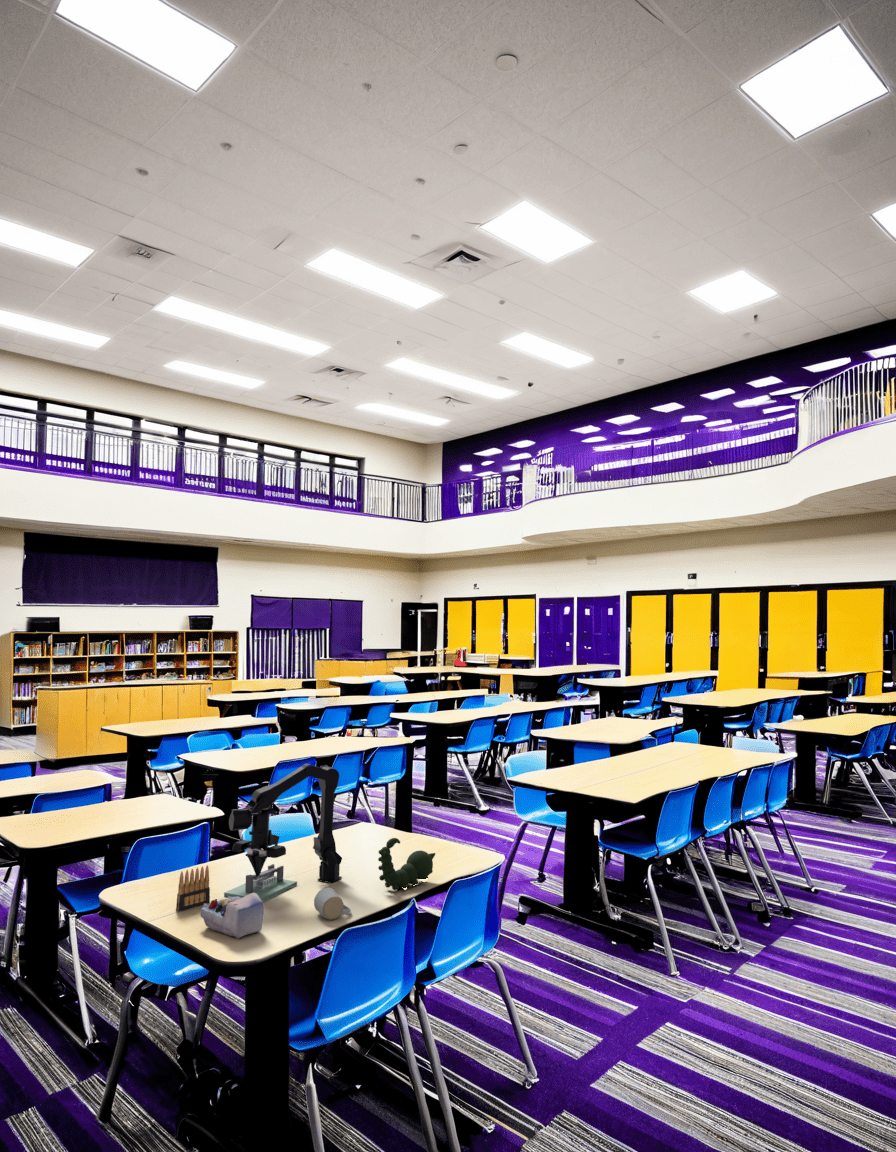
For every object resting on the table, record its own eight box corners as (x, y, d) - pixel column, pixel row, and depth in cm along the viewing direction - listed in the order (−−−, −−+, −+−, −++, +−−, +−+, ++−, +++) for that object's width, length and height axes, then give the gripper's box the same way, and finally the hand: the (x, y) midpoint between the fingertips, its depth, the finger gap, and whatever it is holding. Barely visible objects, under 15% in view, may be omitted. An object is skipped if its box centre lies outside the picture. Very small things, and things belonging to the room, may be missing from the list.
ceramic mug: (322, 923, 215) (323, 896, 216) (313, 914, 222) (314, 889, 223) (354, 917, 221) (355, 891, 222) (344, 909, 228) (345, 884, 229)
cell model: (237, 904, 201) (196, 891, 213) (236, 944, 199) (195, 929, 211) (274, 892, 211) (232, 880, 223) (273, 930, 210) (232, 916, 222)
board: (296, 885, 250) (297, 881, 251) (259, 902, 232) (260, 899, 232) (262, 879, 257) (262, 875, 257) (224, 896, 239) (224, 892, 239)
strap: (273, 870, 253) (273, 867, 253) (279, 871, 252) (279, 868, 252) (249, 878, 242) (250, 875, 242) (256, 879, 240) (256, 877, 240)
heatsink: (277, 884, 247) (277, 875, 247) (262, 891, 240) (262, 882, 240) (260, 882, 250) (261, 873, 250) (245, 888, 242) (245, 879, 243)
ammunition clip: (206, 902, 233) (208, 864, 234) (209, 903, 232) (211, 865, 233) (175, 910, 225) (177, 871, 226) (178, 912, 224) (180, 872, 225)
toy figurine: (392, 902, 239) (445, 879, 256) (389, 845, 240) (442, 826, 257) (374, 895, 245) (427, 873, 263) (371, 839, 246) (424, 821, 264)
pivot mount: (283, 880, 252) (283, 865, 252) (278, 882, 249) (278, 867, 250) (272, 878, 254) (272, 864, 254) (267, 880, 251) (267, 866, 252)
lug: (255, 891, 240) (255, 874, 240) (250, 893, 238) (251, 876, 238) (249, 890, 241) (250, 873, 241) (245, 892, 239) (245, 875, 239)
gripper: (296, 826, 249) (294, 872, 247) (254, 820, 256) (251, 865, 254) (276, 832, 239) (274, 881, 237) (232, 826, 246) (230, 873, 244)
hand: (257, 874), depth 243 cm, fingers closed, pressing on strap
